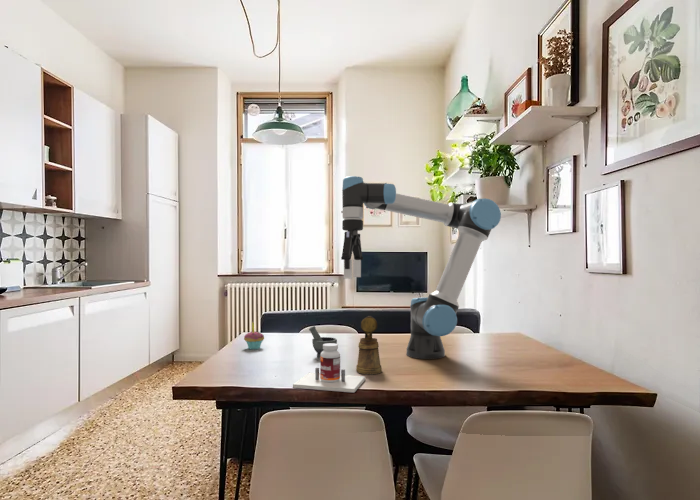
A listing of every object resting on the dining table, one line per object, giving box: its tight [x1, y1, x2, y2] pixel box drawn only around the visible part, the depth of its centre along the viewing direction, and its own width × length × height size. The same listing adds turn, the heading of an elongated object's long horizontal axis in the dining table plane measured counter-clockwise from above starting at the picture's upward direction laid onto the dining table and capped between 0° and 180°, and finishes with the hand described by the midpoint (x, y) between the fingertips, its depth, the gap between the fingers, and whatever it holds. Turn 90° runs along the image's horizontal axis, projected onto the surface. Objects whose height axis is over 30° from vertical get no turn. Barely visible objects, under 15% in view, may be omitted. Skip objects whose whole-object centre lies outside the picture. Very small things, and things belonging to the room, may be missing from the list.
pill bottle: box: [319, 343, 341, 382], centre depth 136 cm, size 6×6×11 cm
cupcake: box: [243, 322, 265, 350], centre depth 190 cm, size 9×8×12 cm
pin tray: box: [292, 367, 366, 394], centre depth 136 cm, size 19×14×4 cm
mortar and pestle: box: [308, 325, 338, 359], centre depth 173 cm, size 11×9×12 cm
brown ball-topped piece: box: [355, 315, 383, 375], centre depth 153 cm, size 9×14×18 cm, turn 176°
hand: (352, 277), depth 159 cm, fingers open, 13 cm apart
